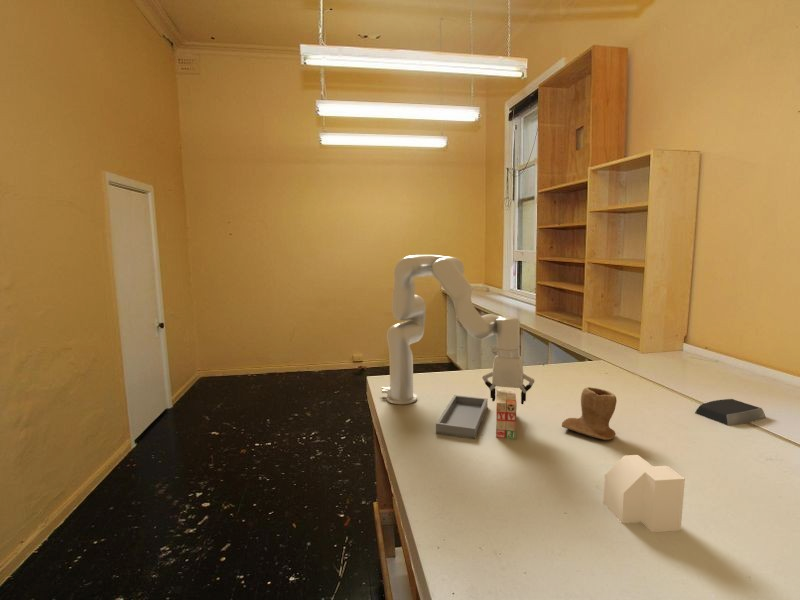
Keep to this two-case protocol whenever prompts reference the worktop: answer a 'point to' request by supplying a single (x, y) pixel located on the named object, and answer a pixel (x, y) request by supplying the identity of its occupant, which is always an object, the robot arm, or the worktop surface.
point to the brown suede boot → (594, 414)
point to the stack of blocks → (506, 414)
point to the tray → (462, 417)
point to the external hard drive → (730, 412)
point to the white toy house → (645, 494)
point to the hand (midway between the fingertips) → (508, 401)
